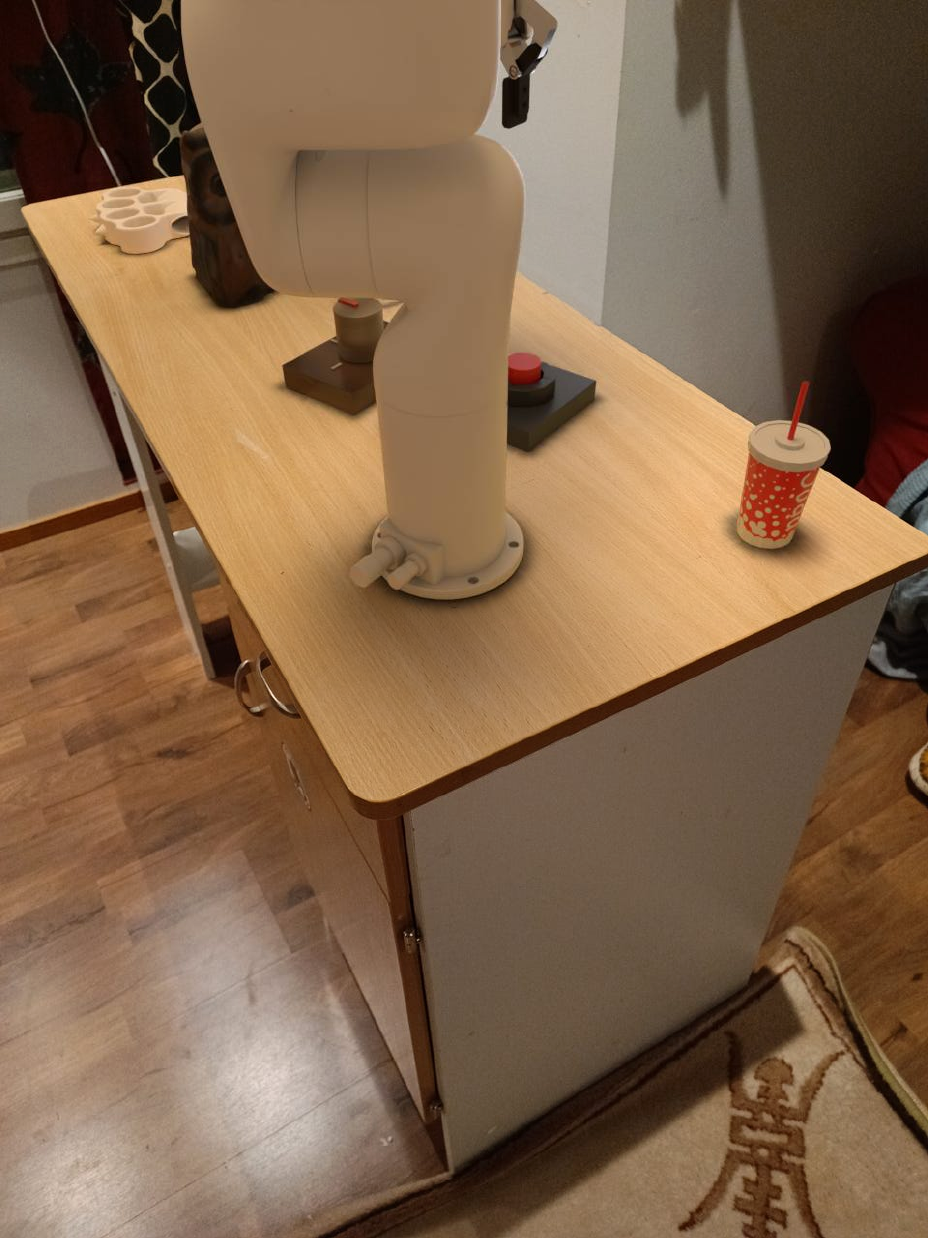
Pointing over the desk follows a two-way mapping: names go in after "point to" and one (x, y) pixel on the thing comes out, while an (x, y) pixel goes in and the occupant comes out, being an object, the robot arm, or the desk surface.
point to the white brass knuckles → (142, 218)
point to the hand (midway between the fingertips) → (472, 116)
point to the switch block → (545, 405)
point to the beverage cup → (779, 478)
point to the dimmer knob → (358, 328)
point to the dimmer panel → (332, 378)
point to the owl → (216, 229)
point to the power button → (524, 368)
